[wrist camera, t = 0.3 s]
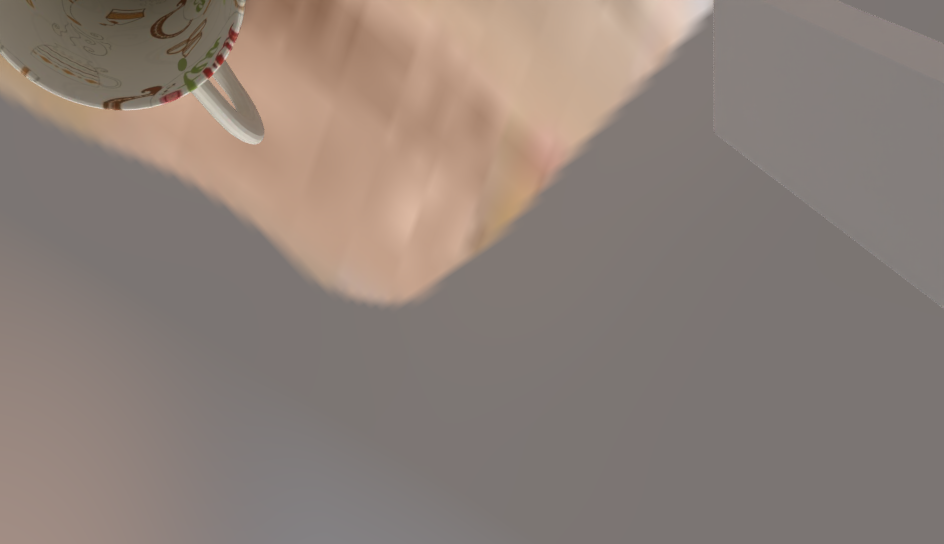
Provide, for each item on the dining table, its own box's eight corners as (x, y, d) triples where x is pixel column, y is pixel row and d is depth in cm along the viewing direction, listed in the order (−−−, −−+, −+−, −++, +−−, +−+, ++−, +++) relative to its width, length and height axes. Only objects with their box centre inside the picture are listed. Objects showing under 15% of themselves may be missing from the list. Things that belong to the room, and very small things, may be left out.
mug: (142, -231, 33) (117, -226, 25) (336, 39, 40) (369, 114, 32) (-30, -101, 34) (-109, -54, 26) (191, 142, 41) (185, 243, 32)
